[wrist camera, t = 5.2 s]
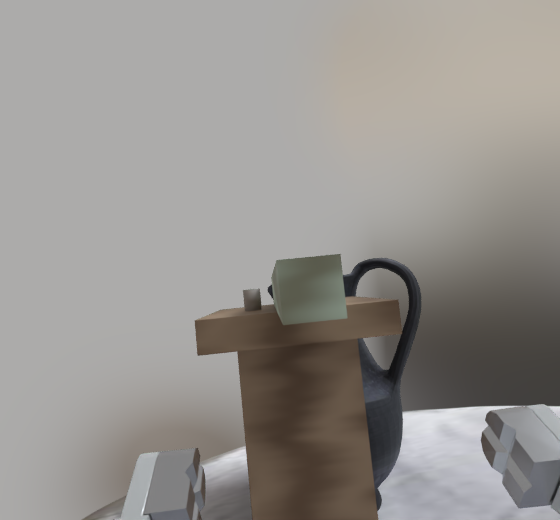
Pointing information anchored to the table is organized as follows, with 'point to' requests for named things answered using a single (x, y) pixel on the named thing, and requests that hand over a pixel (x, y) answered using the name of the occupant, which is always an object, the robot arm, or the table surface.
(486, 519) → the table surface
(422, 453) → the table surface
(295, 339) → the shelf stand
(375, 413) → the pitcher
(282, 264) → the bar
